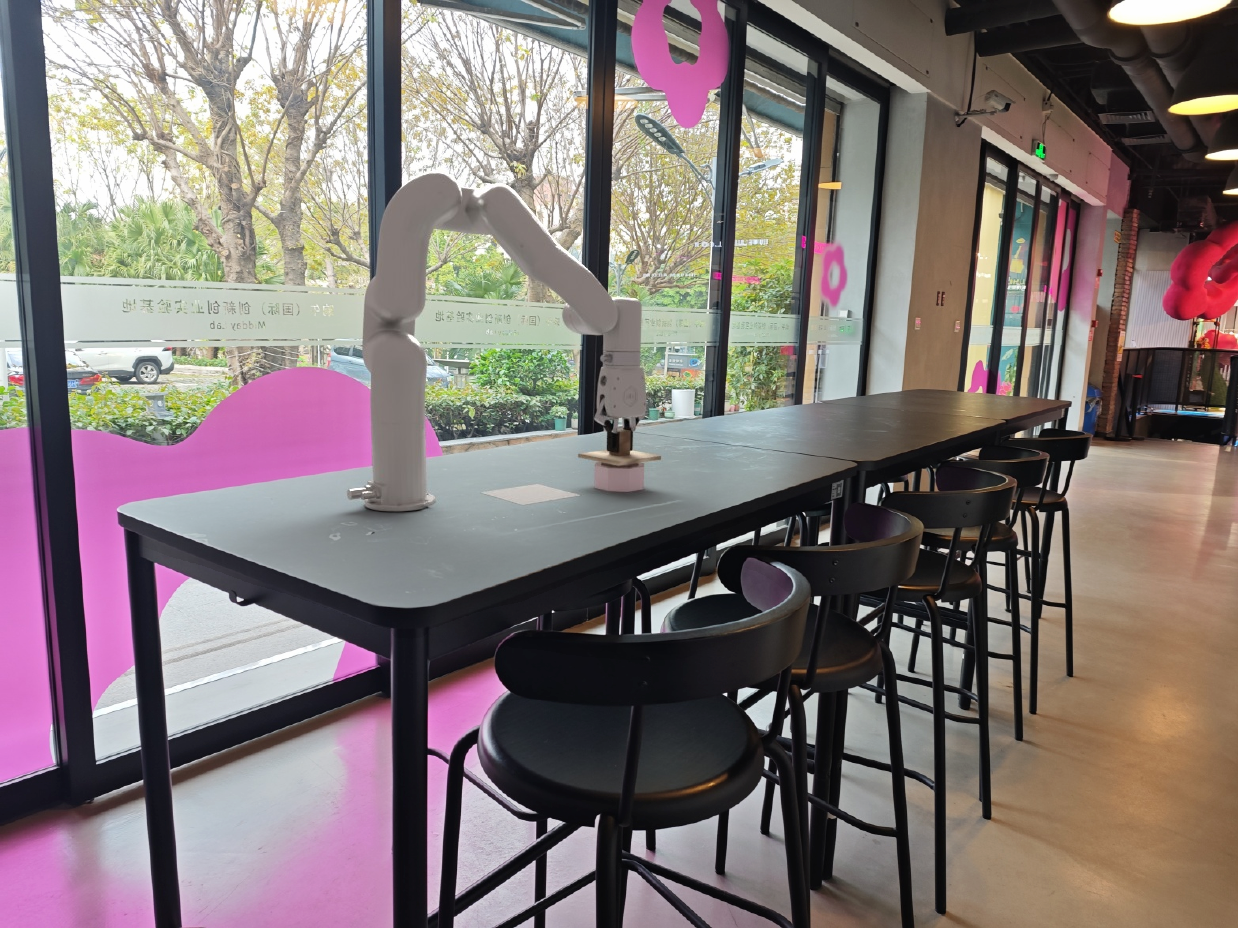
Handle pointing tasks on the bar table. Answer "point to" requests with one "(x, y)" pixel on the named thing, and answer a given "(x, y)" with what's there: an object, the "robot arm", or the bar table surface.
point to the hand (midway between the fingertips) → (619, 450)
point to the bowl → (619, 477)
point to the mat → (530, 494)
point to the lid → (620, 453)
